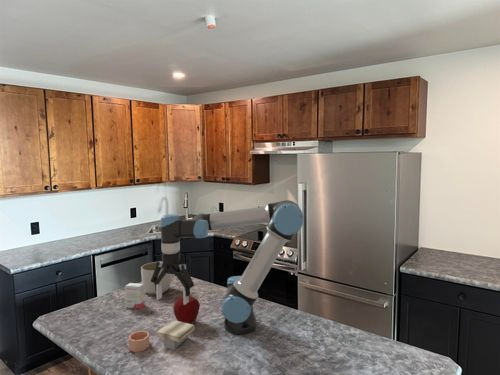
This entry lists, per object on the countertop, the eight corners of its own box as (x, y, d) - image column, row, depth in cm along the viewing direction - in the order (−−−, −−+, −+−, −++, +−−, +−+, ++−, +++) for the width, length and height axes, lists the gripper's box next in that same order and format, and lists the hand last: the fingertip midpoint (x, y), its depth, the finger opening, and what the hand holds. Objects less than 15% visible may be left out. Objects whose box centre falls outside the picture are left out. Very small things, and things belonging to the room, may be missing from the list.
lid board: (194, 329, 145) (194, 324, 145) (179, 341, 135) (179, 337, 135) (173, 324, 149) (173, 320, 149) (157, 336, 139) (157, 331, 139)
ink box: (145, 304, 179) (144, 283, 178) (140, 309, 174) (139, 286, 173) (130, 303, 181) (129, 282, 180) (125, 307, 176) (124, 285, 175)
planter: (155, 299, 186) (154, 272, 185) (135, 293, 195) (134, 267, 194) (178, 289, 200) (177, 264, 199) (158, 283, 209) (157, 260, 208)
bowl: (153, 343, 141) (153, 333, 141) (139, 353, 134) (139, 342, 134) (138, 339, 144) (138, 329, 144) (124, 349, 137) (124, 338, 137)
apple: (169, 327, 155) (168, 299, 154) (182, 316, 166) (181, 290, 165) (192, 331, 151) (191, 303, 150) (204, 320, 162) (203, 293, 161)
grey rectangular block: (188, 337, 146) (187, 328, 146) (174, 349, 137) (173, 339, 137) (178, 335, 148) (178, 326, 148) (164, 346, 139) (163, 337, 139)
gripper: (201, 252, 140) (202, 301, 141) (152, 246, 149) (154, 293, 151) (191, 257, 133) (192, 309, 135) (141, 251, 142) (143, 299, 144)
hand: (172, 300), depth 143 cm, fingers open, 13 cm apart
